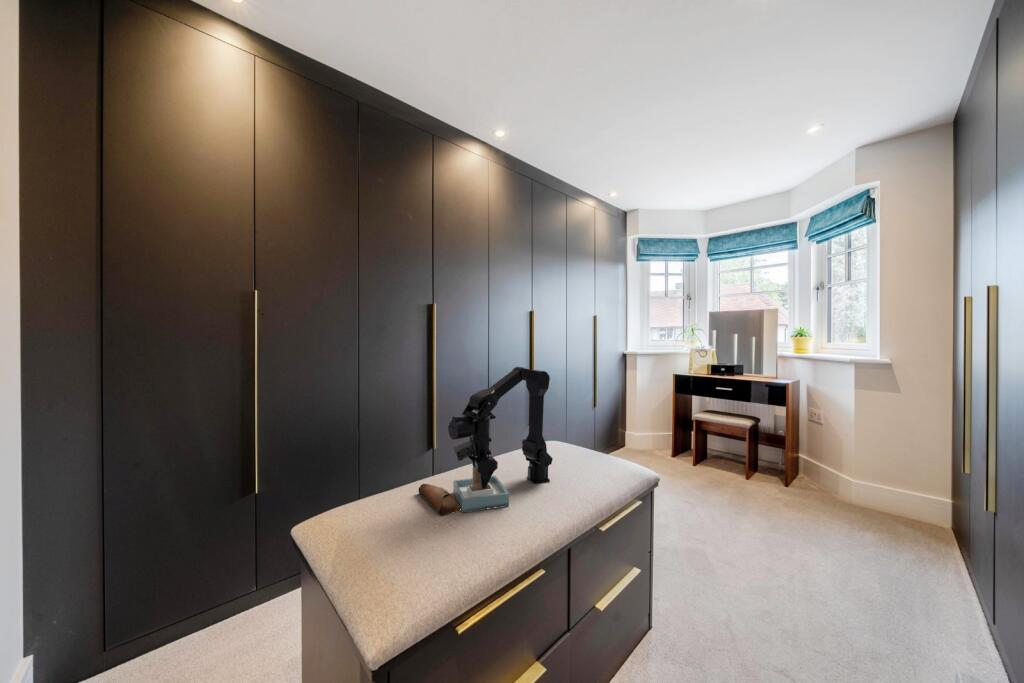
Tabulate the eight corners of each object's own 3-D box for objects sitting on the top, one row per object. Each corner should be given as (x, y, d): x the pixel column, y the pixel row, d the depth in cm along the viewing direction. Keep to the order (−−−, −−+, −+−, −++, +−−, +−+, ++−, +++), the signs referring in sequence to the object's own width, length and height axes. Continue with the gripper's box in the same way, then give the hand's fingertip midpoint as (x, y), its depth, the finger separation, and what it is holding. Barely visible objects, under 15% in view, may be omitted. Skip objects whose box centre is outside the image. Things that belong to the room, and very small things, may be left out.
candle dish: (495, 486, 130) (495, 475, 130) (508, 506, 116) (509, 493, 116) (453, 492, 125) (453, 480, 125) (461, 513, 112) (462, 499, 111)
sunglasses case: (465, 509, 114) (455, 493, 112) (447, 526, 111) (436, 510, 108) (441, 487, 129) (432, 473, 127) (424, 502, 125) (414, 487, 123)
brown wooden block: (485, 490, 123) (486, 466, 122) (487, 493, 120) (488, 468, 120) (472, 492, 121) (472, 467, 121) (474, 495, 119) (474, 470, 119)
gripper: (450, 428, 126) (450, 474, 127) (461, 444, 109) (460, 498, 109) (482, 425, 130) (482, 470, 130) (498, 441, 112) (497, 493, 113)
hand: (480, 482), depth 121 cm, fingers open, 9 cm apart
